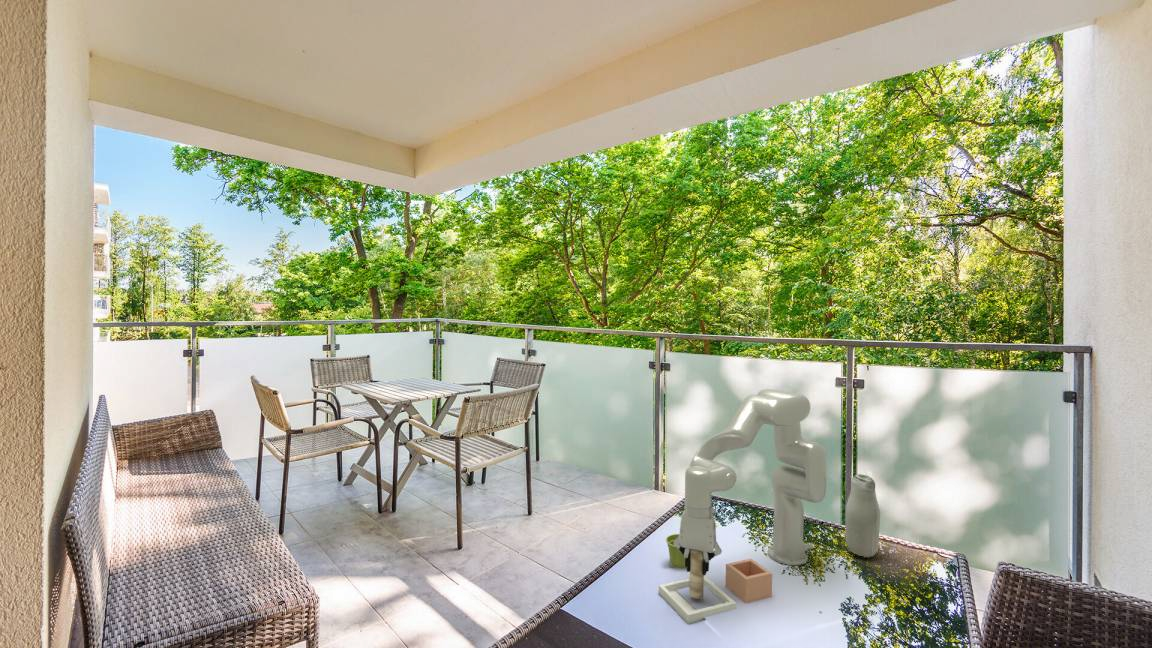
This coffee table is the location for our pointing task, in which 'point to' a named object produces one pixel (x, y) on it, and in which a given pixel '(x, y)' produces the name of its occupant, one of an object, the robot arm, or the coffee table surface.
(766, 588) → the terracotta cup
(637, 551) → the coffee table surface
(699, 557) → the birch dowel
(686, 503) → the robot arm
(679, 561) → the plant pot
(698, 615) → the cream tray
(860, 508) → the grey bottle
